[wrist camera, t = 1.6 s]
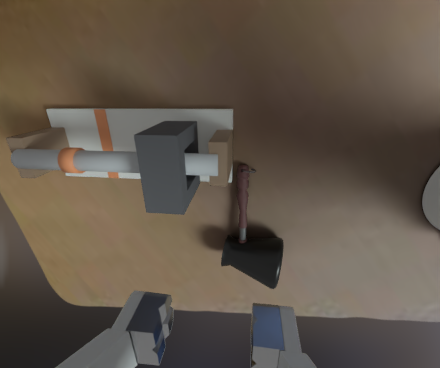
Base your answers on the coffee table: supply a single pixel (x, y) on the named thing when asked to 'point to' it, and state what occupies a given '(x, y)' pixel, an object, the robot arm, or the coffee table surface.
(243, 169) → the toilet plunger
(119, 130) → the rail
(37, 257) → the coffee table surface
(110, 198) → the coffee table surface
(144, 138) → the collar
